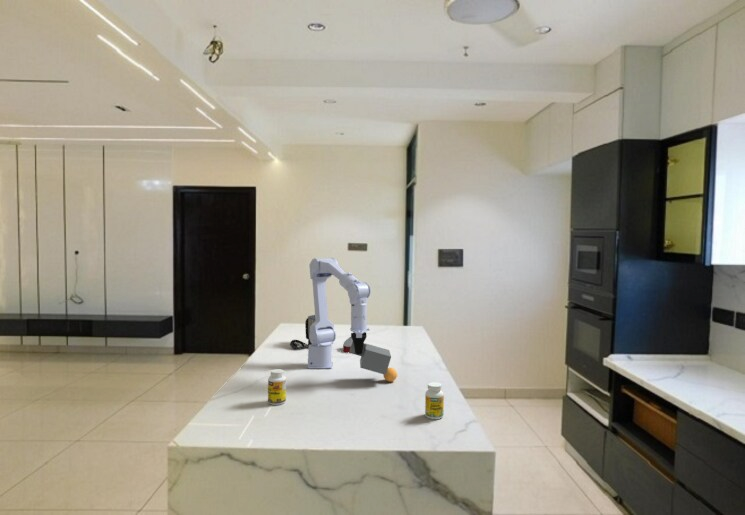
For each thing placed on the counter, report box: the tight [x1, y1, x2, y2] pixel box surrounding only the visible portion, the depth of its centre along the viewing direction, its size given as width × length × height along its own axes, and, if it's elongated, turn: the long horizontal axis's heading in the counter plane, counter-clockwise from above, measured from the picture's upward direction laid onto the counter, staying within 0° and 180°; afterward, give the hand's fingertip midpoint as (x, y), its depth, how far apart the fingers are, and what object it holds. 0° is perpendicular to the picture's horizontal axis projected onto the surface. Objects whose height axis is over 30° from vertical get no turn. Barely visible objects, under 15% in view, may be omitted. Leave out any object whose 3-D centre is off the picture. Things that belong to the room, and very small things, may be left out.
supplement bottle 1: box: [267, 368, 287, 406], centre depth 141 cm, size 6×6×10 cm
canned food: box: [342, 336, 353, 353], centre depth 207 cm, size 11×10×10 cm
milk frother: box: [289, 314, 326, 350], centre depth 212 cm, size 14×16×15 cm
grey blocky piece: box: [348, 341, 392, 375], centre depth 162 cm, size 14×9×8 cm, turn 93°
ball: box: [382, 367, 398, 382], centre depth 163 cm, size 5×5×5 cm
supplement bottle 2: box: [424, 381, 445, 420], centre depth 132 cm, size 5×5×10 cm
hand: (358, 353), depth 162 cm, fingers closed on grey blocky piece
